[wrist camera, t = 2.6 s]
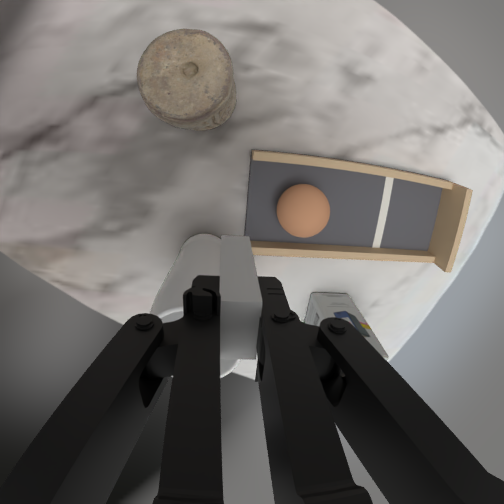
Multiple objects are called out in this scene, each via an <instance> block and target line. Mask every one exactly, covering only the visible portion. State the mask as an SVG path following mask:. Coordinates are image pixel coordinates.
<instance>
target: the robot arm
mask: <svg viewBox="0 0 504 504" xmlns="http://www.w3.org/2000/svg"><path fill="white" fill-rule="evenodd" d="M183 314H184V315H183V317H182V318H180V319H178V320H176V321H172V322H166V323H162V319H160V318H159V317H158V316H156V315H153V314H147V313H144V314H138V315H135V316H132V317H131V318H130V319H129V320H128V321H127V322H126V323H125V324H124V325H123V326H122V328H121V329H120V330H119V331H118V332H117V334H116V335H115V336H114V337H113V338H112V340H111V341H110V342H109V343H108V344H107V346H106V347H105V348H104V349H103V351H102V352H101V353H100V354H99V355H98V357H97V358H96V359H95V360H94V362H93V363H92V364H91V366H90V367H89V368H88V369H87V370H86V372H85V373H84V374H83V375H82V377H81V378H80V379H79V380H78V382H77V383H76V384H75V386H74V387H73V388H72V389H71V391H70V392H69V393H68V394H67V396H66V397H65V398H64V400H63V401H62V402H61V404H60V405H59V406H58V407H57V409H56V410H55V411H54V413H53V414H52V415H51V417H50V418H49V420H48V421H47V422H46V423H45V425H44V426H43V427H42V429H41V430H40V432H39V433H38V434H37V436H36V437H35V438H34V440H33V441H32V443H31V444H30V445H29V447H28V448H27V450H26V451H25V453H24V454H23V455H22V457H21V458H20V460H19V461H18V463H17V464H16V466H15V467H14V468H13V470H12V471H11V473H10V474H9V476H8V477H7V479H6V480H5V482H4V483H3V485H2V486H1V488H0V504H105V503H106V501H107V499H108V497H109V495H110V493H111V491H112V489H113V487H114V485H115V483H116V481H117V479H118V477H119V475H120V473H121V471H122V469H123V467H124V465H125V464H126V462H127V460H128V457H129V456H130V454H131V452H132V449H133V448H134V446H135V444H136V442H137V440H138V438H139V436H140V434H141V432H142V430H143V428H144V426H145V424H146V422H147V420H148V418H149V417H150V415H151V413H152V411H153V409H154V407H155V405H156V403H157V401H158V399H159V397H160V395H161V393H162V391H163V389H164V387H165V386H166V384H167V382H168V379H169V376H173V379H172V386H171V393H170V399H169V406H168V414H167V421H166V429H165V437H164V445H163V453H162V463H161V472H160V482H159V491H158V495H157V496H156V497H155V498H154V501H153V504H224V501H223V482H222V453H221V409H220V408H221V405H220V359H256V354H257V356H258V362H257V370H256V377H255V382H258V383H259V390H260V398H261V406H262V413H263V420H264V428H265V436H266V442H267V450H268V457H269V465H270V472H271V480H272V487H273V494H274V501H275V504H373V503H372V500H371V497H370V495H369V493H368V491H367V490H366V489H365V488H364V487H361V486H358V485H356V484H355V483H354V481H353V478H352V475H351V472H350V469H349V466H348V462H347V459H346V456H345V453H344V450H343V447H342V444H341V441H340V438H339V435H338V432H337V428H336V425H337V427H338V428H339V430H340V431H341V433H342V434H343V436H344V437H345V439H346V440H347V442H348V443H349V445H350V446H351V448H352V449H353V451H354V452H355V454H356V455H357V457H358V458H359V460H360V461H361V463H362V464H363V466H364V467H365V469H366V470H367V472H368V473H369V474H370V476H371V477H372V479H373V480H374V482H375V483H376V485H377V486H378V488H379V489H380V491H381V492H382V493H383V495H384V496H385V498H386V499H387V501H388V502H389V504H504V481H502V480H501V479H499V478H497V477H495V476H493V475H492V474H490V473H488V472H487V471H486V470H485V469H484V467H483V466H482V465H481V464H480V463H479V462H478V460H477V459H476V458H475V457H474V456H473V455H472V454H471V453H470V451H469V450H468V449H467V448H466V447H465V446H464V445H463V444H462V442H461V441H459V439H458V438H457V437H456V436H455V435H454V433H453V432H452V431H451V430H450V429H449V428H448V427H447V426H446V425H445V424H444V423H443V421H442V420H441V419H440V418H439V417H438V416H437V415H436V414H435V413H434V411H433V410H432V409H431V408H430V407H429V406H428V405H427V404H426V403H425V402H424V401H423V399H422V398H421V397H420V396H419V395H418V394H417V393H416V392H415V391H414V390H413V389H412V388H411V387H410V385H409V384H408V383H407V382H406V381H405V380H404V379H403V378H402V377H401V376H400V375H399V374H398V372H397V371H396V370H395V369H394V368H393V367H392V366H391V365H390V364H389V363H388V362H387V361H386V360H385V359H384V358H383V357H382V355H381V354H380V353H379V352H378V351H377V350H376V349H375V348H374V347H373V346H372V345H371V344H370V343H369V342H368V341H367V340H366V339H365V338H364V336H363V335H362V334H361V333H360V332H359V331H358V330H357V329H356V328H355V327H354V326H353V325H352V324H351V323H349V322H348V321H346V320H344V319H342V318H337V317H328V318H326V319H323V320H322V321H321V322H320V326H315V325H310V324H306V323H303V322H301V321H300V320H299V317H298V315H297V314H296V313H295V312H293V311H292V310H290V308H289V305H288V302H287V299H286V296H285V293H284V290H283V287H282V284H281V282H280V281H279V280H278V279H277V278H275V277H258V276H257V272H256V267H255V262H254V257H253V252H252V247H251V242H250V238H249V236H230V235H221V256H220V276H210V275H198V276H197V277H196V278H194V279H193V281H192V286H191V288H189V289H188V290H186V291H185V292H184V294H183ZM335 424H336V425H335Z"/></svg>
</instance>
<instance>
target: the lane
mask: <svg viewBox="0 0 504 504" xmlns="http://www.w3.org/2000/svg"><path fill="white" fill-rule="evenodd" d="M298 184H309V185H312V186H314V187H316V188H318V189H319V190H321V191H322V192H323V193H324V195H325V196H326V198H327V200H328V202H329V205H330V217H329V220H328V223H327V225H326V226H325V227H324V229H323V230H322V231H321V232H319V233H318V234H316V235H314V236H311V237H306V238H302V237H296V236H293V235H291V234H290V233H288V232H287V231H285V230H284V229H283V227H282V226H281V224H280V223H279V220H278V217H277V204H278V201H279V198H280V197H281V195H282V194H283V193H284V192H285V191H286V190H287V189H288V188H290V187H292V186H294V185H298ZM472 191H473V190H471V189H469V188H466V187H463V186H461V185H458V184H455V183H453V182H450V181H447V180H444V179H439V178H435V177H431V176H426V175H422V174H417V173H413V172H408V171H403V170H398V169H393V168H388V167H383V166H377V165H371V164H366V163H360V162H354V161H347V160H341V159H334V158H326V157H319V156H311V155H303V154H294V153H285V152H274V151H263V150H252V152H251V164H250V176H249V188H248V200H247V212H246V224H245V236H249V238H250V242H251V247H252V252H253V255H265V256H287V257H310V258H333V259H356V260H379V261H403V262H427V263H435V264H436V265H437V266H438V267H439V268H441V269H442V270H443V271H444V272H451V270H452V267H453V264H454V261H455V258H456V254H457V251H458V248H459V244H460V241H461V237H462V233H463V230H464V226H465V222H466V218H467V214H468V209H469V205H470V200H471V196H472Z"/></svg>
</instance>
